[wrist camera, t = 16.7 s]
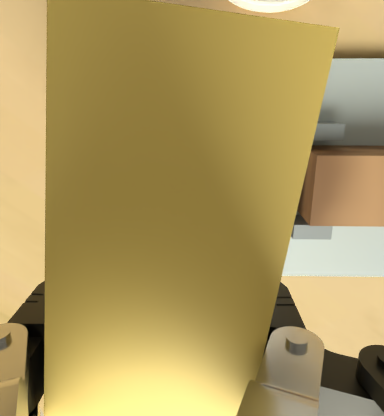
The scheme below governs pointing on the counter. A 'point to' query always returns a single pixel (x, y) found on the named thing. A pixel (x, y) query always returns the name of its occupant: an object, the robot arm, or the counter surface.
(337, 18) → the counter surface
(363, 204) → the brown rectangular bar
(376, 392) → the robot arm
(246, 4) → the spread jar
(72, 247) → the yellow rectangular block
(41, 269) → the counter surface
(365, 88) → the jig
